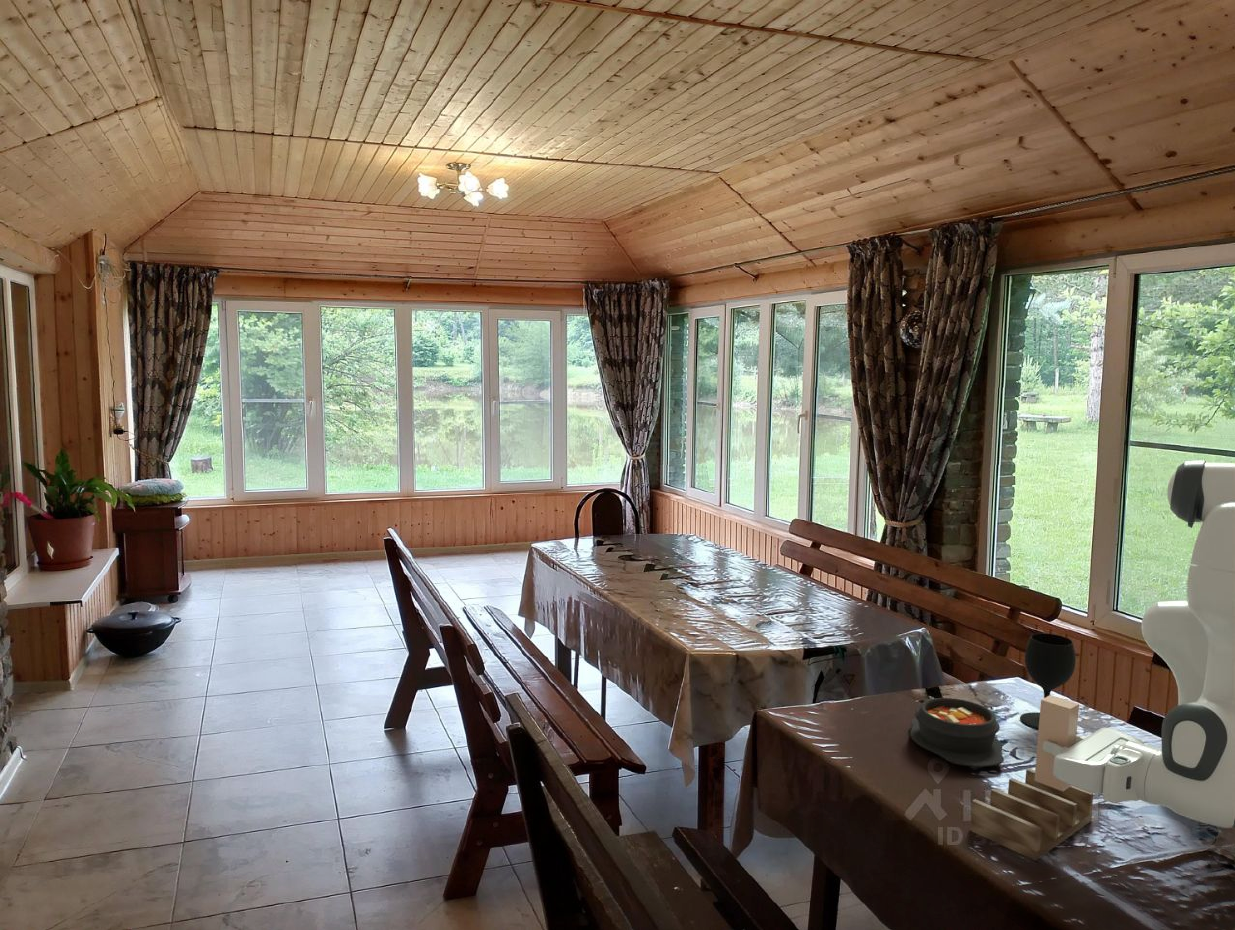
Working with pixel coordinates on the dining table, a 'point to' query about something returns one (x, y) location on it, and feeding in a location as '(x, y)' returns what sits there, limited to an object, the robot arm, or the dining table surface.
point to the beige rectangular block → (1055, 736)
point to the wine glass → (1048, 666)
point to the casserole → (958, 732)
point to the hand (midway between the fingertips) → (1051, 740)
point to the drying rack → (1031, 816)
